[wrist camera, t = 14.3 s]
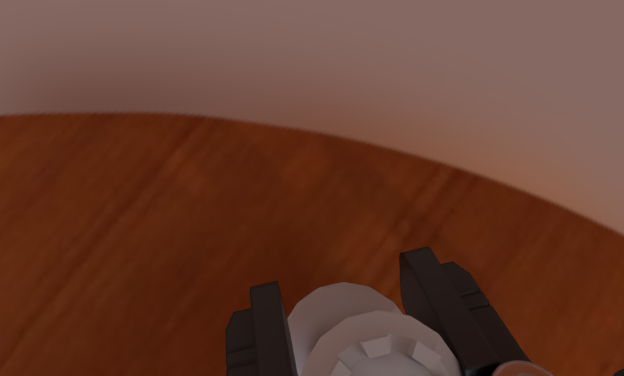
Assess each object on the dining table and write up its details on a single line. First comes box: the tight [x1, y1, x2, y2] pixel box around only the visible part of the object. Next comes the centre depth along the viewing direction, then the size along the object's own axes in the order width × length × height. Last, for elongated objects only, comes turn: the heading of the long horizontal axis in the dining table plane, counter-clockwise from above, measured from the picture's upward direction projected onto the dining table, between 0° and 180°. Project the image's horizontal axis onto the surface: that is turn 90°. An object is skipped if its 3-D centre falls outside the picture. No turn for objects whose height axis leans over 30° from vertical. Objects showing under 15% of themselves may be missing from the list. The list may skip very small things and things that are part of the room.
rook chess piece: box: [287, 282, 463, 376], centre depth 12 cm, size 4×4×8 cm
